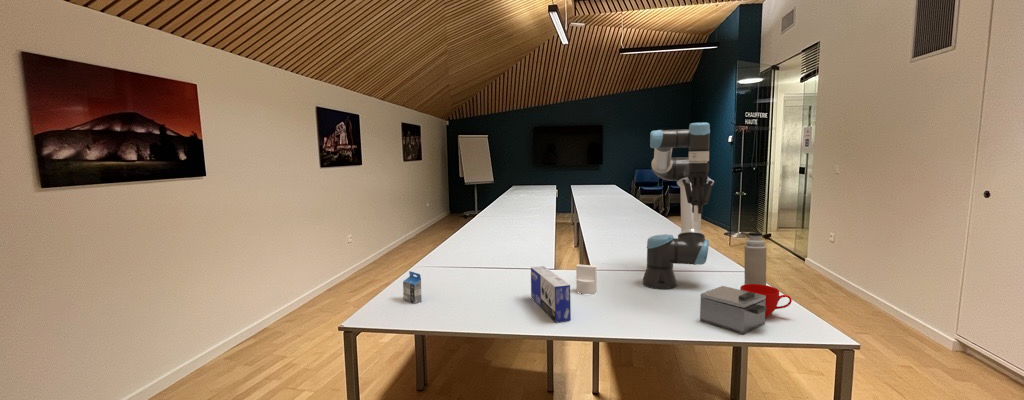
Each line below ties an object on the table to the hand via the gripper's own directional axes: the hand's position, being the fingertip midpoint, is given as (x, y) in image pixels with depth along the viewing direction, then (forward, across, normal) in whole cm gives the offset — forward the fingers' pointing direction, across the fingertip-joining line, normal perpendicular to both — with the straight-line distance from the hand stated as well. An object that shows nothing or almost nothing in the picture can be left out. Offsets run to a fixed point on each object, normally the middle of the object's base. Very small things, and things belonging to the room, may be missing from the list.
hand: (697, 221), depth 178 cm
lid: (+25, +19, -7) cm, 32 cm away
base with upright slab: (+35, -40, -22) cm, 57 cm away
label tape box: (+35, -79, -89) cm, 124 cm away
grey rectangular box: (+34, +20, -7) cm, 41 cm away
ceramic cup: (+35, +23, +10) cm, 43 cm away
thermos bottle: (+34, +12, +25) cm, 44 cm away
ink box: (+35, -34, -49) cm, 69 cm away
